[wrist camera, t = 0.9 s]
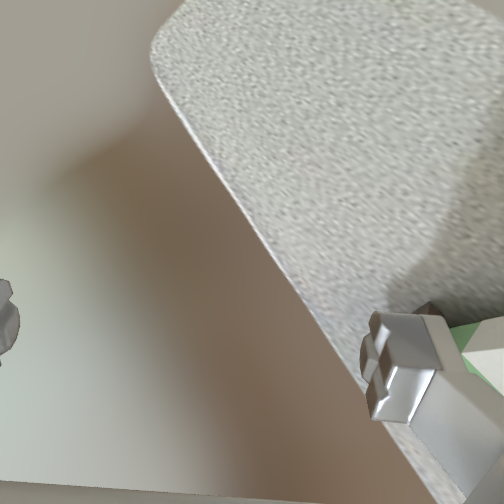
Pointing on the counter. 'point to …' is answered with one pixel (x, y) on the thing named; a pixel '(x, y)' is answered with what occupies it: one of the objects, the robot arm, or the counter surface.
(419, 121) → the counter surface
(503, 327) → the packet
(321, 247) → the counter surface
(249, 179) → the counter surface
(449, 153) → the counter surface
